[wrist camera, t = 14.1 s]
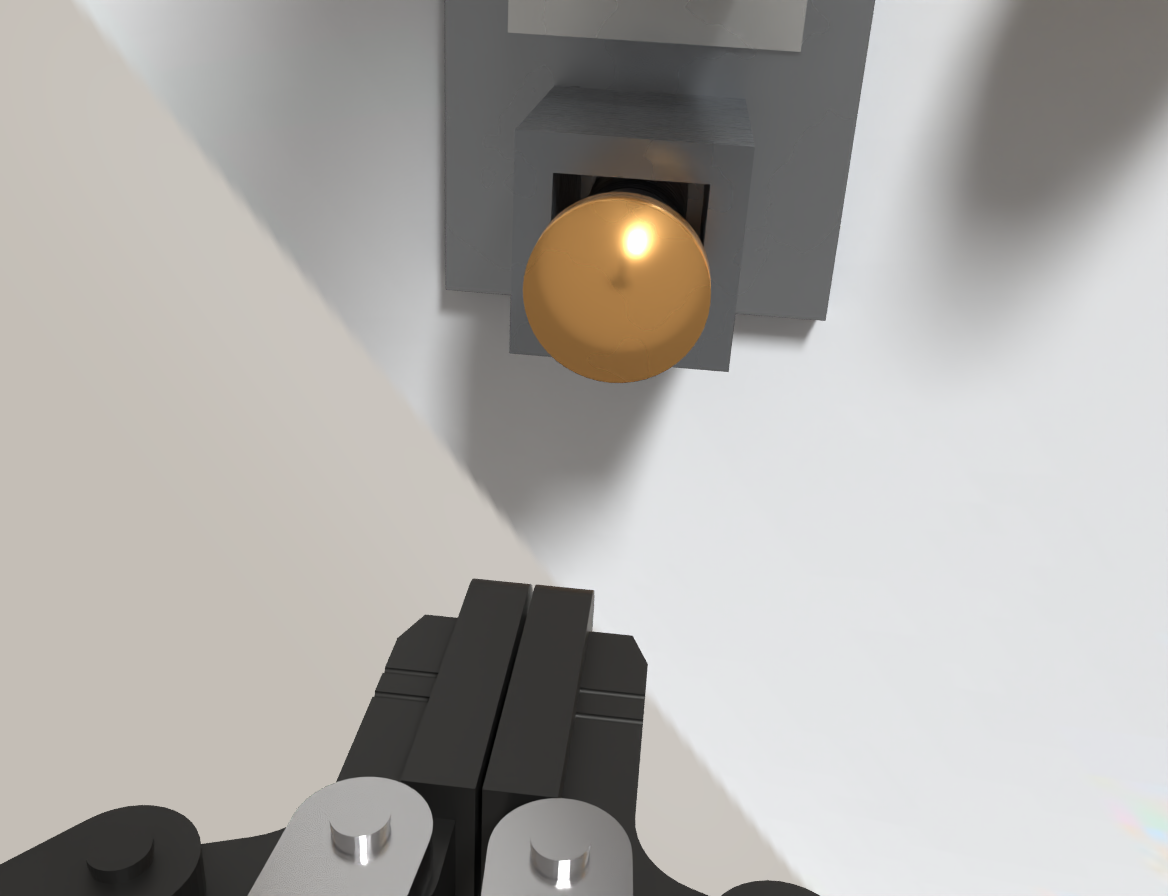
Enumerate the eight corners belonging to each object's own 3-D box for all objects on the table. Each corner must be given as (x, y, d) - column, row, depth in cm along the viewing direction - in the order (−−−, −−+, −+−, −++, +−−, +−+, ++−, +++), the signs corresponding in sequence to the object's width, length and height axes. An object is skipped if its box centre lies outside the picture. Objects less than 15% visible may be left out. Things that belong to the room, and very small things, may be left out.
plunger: (577, 115, 35) (525, 194, 25) (716, 125, 35) (720, 209, 25) (570, 251, 37) (520, 374, 27) (702, 262, 37) (701, 390, 27)
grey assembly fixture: (453, -332, 32) (363, -419, 23) (917, -312, 31) (994, -394, 22) (452, 279, 39) (385, 376, 31) (822, 309, 39) (853, 416, 30)
